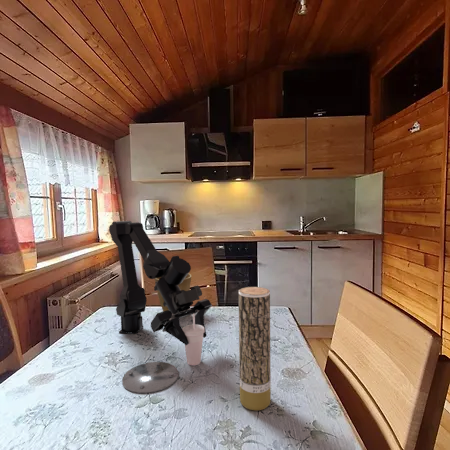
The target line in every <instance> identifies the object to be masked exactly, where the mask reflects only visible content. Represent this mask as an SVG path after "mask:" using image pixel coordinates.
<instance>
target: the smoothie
mask: <svg viewBox="0 0 450 450" xmlns="http://www.w3.org/2000/svg"><path fill="white" fill-rule="evenodd" d="M192 319H193V323H192V324H187V325H185V326H183V327H181V328H182V330H183V332H184V333H185V335H186V337H187V340H188V342H189V344H188V345H185V344H184V349H185V355H186V356H185V357H186V363H187V365H188V366H198V365H200V364H201V361H202V350H203V342H204V341H203V340H204V337H203V333H204V332H205V330H206V327H205V328H204V327H203V326H202V325H197V324H195V313H193V318H192Z"/></svg>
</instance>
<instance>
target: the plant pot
mask: <svg viewBox="0 0 450 450" xmlns="http://www.w3.org/2000/svg"><path fill="white" fill-rule="evenodd" d="M159 279H160V278H156V279H154V282H158V280H159ZM191 280H192V274H190V273H188V275H187V276H186V277H185V279H184V280H183V282H182V283H181V284H179V285H178V286H179V288H180V290H185V291H188V290H191V282H192V281H191ZM156 295H157V298H158V300H159V303H160V307H161V310H162V312H163V311H167V310H168V311H169V309H168V307H167V306H165V307H164V305H163V303H164V302H165V301H164V299H163V298H162V296H161V294H160V292H159V290H157V291H156Z"/></svg>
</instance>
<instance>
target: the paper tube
mask: <svg viewBox="0 0 450 450" xmlns="http://www.w3.org/2000/svg"><path fill="white" fill-rule="evenodd" d="M238 354H239V355H238V356H239V357H238V358H239V359H238V361H239V365H238V366H239V370H238V371H239V401H240V403H241V405H242V407H244V408H246V409H247V410H250V411H262V410H265V409H267V408H268V407H269V406H270V404H271V402H272V401H271V400H272V399H271V396H272V395H271V391H272V390H271V387H272V386H271V385H272V384H271V383H272V382H271V380H272V379H271V377H272V376H271V372H272V371H271V367H272V366H271V292H270V289H268V288H265V287H263V286H262V287H261V286H246V287H242V288H240V289H238Z"/></svg>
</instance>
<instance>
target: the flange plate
mask: <svg viewBox="0 0 450 450" xmlns="http://www.w3.org/2000/svg"><path fill="white" fill-rule="evenodd" d="M179 373H180V372H179V369H178V368H177V367H176V366H175V365H173V364H172V363H169V362H163V361H151V362H145V363H141V364H138V365H136V366H134V367H133V368H130V369H128V371H126V372H125V373H124V375H123V376H122V379H121V380H122V387H123V388H124V389H125V390H127V391H129V392H131V393H133V394H134V393H135V394H152V393H153V394H154V393H157V392H160V391H163V390H166V389H168V388H169V387H171V386H173V385H174V384H175V383H176V382H177V381H178V379H179V375H180V374H179Z"/></svg>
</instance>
